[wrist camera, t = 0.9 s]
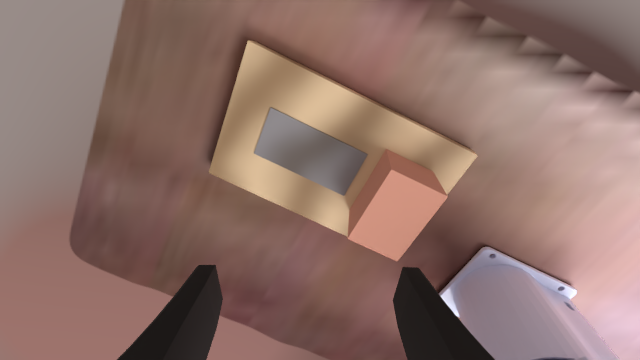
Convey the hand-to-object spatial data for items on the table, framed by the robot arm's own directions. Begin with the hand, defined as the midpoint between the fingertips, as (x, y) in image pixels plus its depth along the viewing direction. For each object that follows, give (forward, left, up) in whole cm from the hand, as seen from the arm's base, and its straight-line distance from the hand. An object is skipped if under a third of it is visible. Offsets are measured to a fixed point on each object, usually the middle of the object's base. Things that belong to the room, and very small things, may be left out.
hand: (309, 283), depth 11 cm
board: (0, 0, -13) cm, 13 cm away
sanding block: (-5, 0, -12) cm, 13 cm away
